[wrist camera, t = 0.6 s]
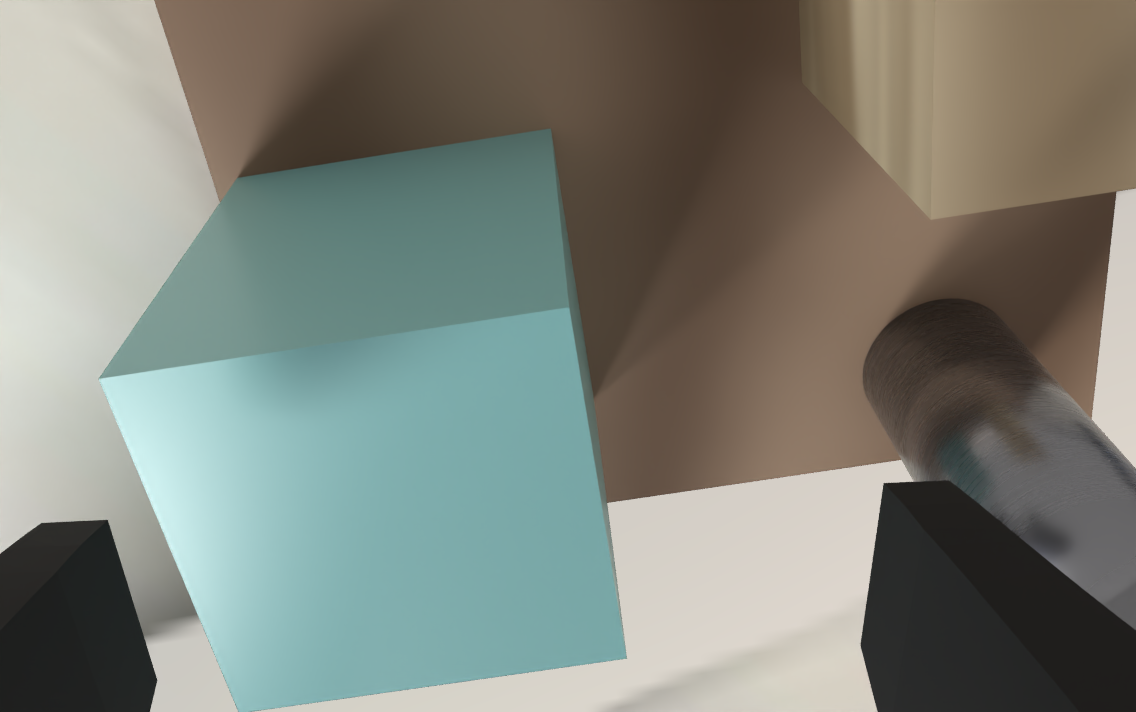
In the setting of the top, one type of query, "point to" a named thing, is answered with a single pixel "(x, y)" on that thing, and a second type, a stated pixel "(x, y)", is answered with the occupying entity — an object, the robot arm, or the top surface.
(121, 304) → the top surface
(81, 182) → the top surface
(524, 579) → the teal foam cube
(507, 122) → the board
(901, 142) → the maple post
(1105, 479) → the metal post
